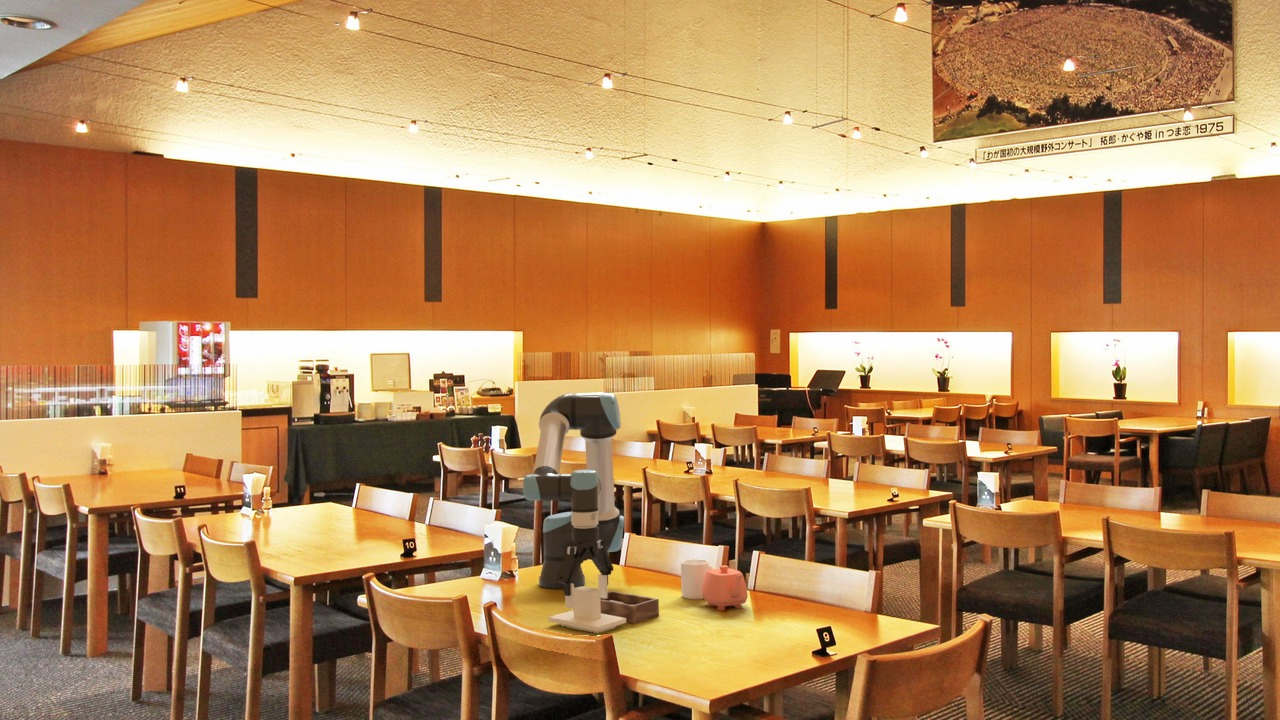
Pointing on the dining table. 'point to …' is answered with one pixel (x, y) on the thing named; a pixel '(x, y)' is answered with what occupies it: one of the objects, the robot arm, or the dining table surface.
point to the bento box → (630, 607)
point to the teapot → (724, 588)
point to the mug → (693, 577)
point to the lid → (587, 613)
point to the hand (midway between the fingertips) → (586, 602)
